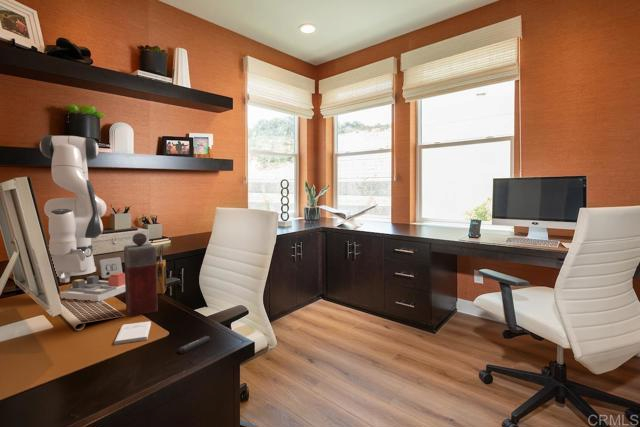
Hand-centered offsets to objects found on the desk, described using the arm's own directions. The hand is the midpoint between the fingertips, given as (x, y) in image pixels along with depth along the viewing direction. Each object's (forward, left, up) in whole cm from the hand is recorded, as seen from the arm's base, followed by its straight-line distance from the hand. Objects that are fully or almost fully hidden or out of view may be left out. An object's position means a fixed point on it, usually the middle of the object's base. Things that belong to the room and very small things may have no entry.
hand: (64, 282), depth 137 cm
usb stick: (+79, -29, -6) cm, 84 cm away
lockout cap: (+17, +9, -3) cm, 20 cm away
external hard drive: (+56, -26, -6) cm, 62 cm away
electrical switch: (-6, +28, -5) cm, 29 cm away
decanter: (+43, -8, -5) cm, 44 cm away
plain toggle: (+7, +7, -3) cm, 10 cm away
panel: (+12, +4, -5) cm, 14 cm away
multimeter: (+33, +10, -5) cm, 35 cm away
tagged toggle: (+7, 0, -3) cm, 7 cm away
